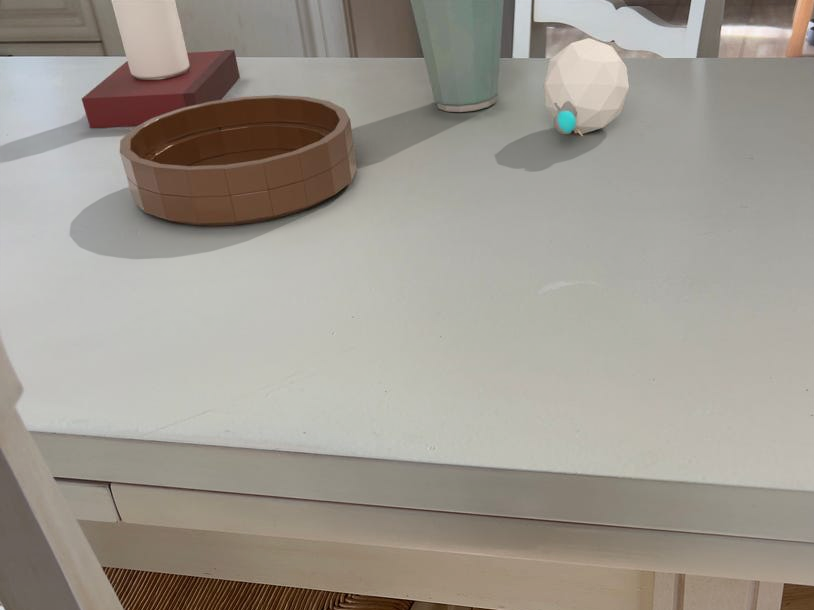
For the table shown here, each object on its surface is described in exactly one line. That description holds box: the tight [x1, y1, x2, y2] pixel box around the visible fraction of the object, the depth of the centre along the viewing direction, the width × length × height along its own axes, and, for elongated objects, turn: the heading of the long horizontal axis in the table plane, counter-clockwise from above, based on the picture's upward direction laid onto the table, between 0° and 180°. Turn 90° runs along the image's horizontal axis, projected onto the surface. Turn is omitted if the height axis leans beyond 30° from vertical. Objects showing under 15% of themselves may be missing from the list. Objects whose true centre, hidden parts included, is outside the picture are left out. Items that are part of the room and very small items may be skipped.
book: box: [81, 49, 241, 129], centre depth 113 cm, size 12×17×3 cm
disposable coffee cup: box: [410, 0, 505, 113], centre depth 102 cm, size 11×11×15 cm
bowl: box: [119, 94, 358, 227], centre depth 90 cm, size 20×20×5 cm
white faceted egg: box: [542, 37, 630, 137], centre depth 94 cm, size 8×8×12 cm
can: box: [110, 0, 189, 80], centre depth 109 cm, size 6×6×12 cm
